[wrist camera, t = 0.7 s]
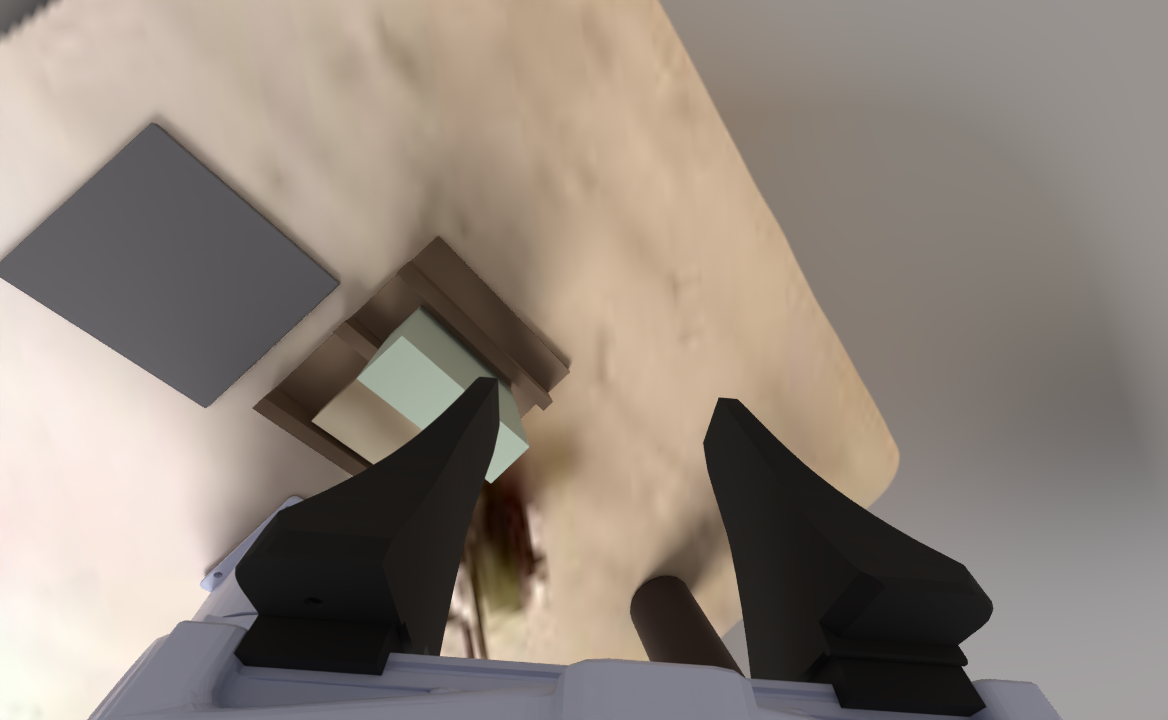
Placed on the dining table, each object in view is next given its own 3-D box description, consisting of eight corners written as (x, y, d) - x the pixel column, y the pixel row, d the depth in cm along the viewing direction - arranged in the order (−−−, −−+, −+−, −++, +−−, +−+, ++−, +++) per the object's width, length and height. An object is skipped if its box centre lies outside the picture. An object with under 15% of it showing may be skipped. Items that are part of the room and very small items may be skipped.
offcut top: (409, 480, 31) (407, 488, 30) (316, 415, 28) (311, 421, 27) (457, 435, 31) (457, 441, 30) (369, 364, 28) (366, 369, 27)
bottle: (650, 566, 42) (795, 818, 24) (697, 582, 45) (861, 821, 27) (616, 618, 43) (732, 902, 25) (665, 631, 46) (802, 897, 27)
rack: (427, 503, 34) (424, 523, 31) (269, 393, 28) (252, 408, 26) (568, 369, 34) (576, 379, 32) (438, 236, 29) (436, 235, 26)
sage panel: (482, 413, 32) (491, 483, 23) (390, 334, 29) (356, 378, 20) (510, 387, 32) (529, 446, 23) (421, 305, 29) (402, 335, 20)
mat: (209, 405, 28) (205, 408, 27) (-1, 270, 23) (-10, 271, 23) (340, 283, 28) (338, 284, 27) (158, 124, 23) (151, 122, 23)
